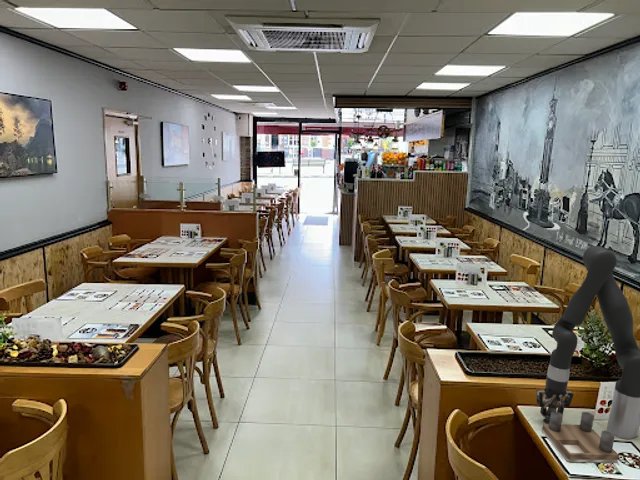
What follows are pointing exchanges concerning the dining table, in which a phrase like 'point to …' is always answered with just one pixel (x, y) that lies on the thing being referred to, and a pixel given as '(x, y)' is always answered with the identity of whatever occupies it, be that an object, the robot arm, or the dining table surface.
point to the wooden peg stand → (580, 440)
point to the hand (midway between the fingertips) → (551, 415)
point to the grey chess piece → (551, 408)
